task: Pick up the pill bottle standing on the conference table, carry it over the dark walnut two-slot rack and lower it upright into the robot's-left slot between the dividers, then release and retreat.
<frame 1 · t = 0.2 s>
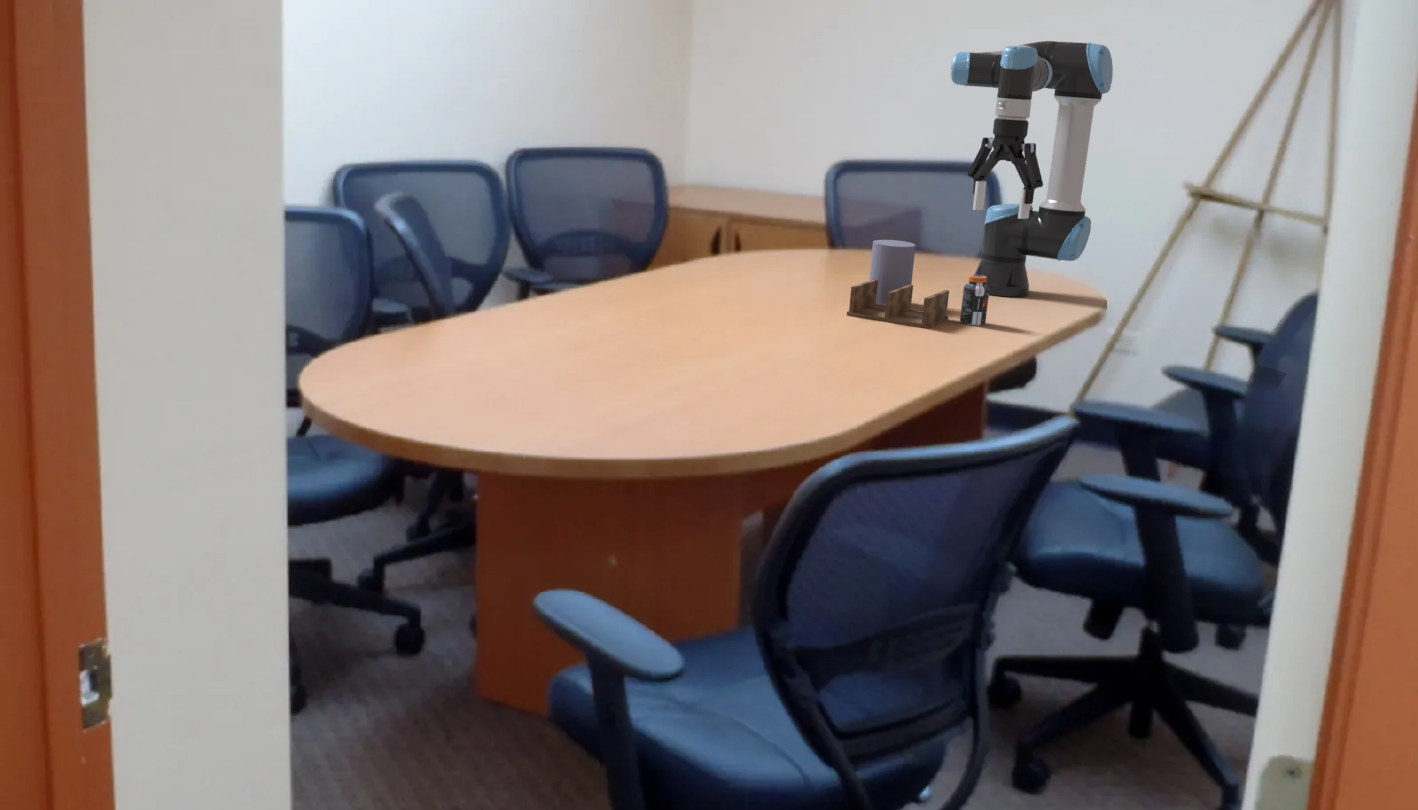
hand: (1000, 214, 305), 26 cm above the table, fingers open, 13 cm apart
rack: (897, 317, 318), on the table
container: (888, 304, 334), on the table
pill bottle: (972, 324, 317), on the table
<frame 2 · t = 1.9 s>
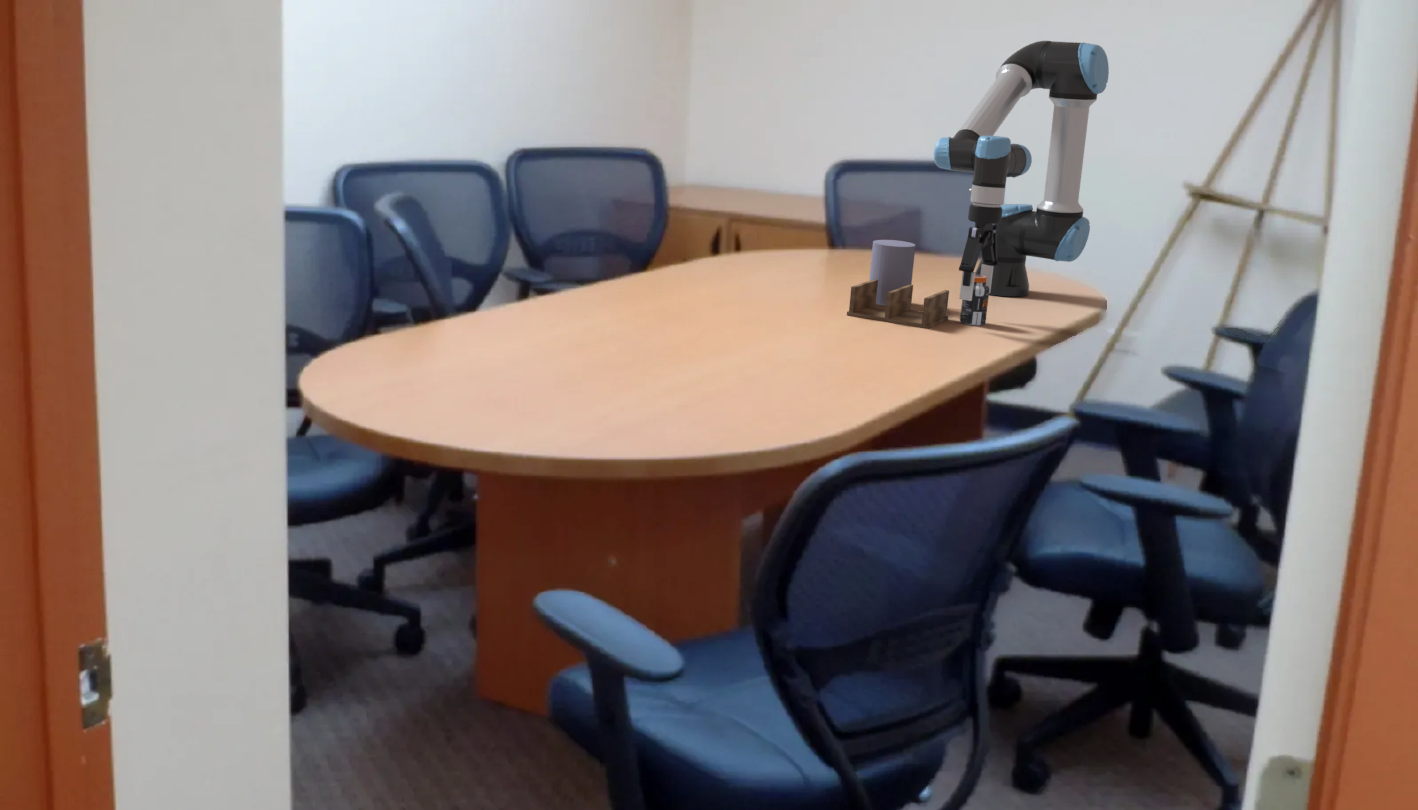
hand: (975, 296, 315), 6 cm above the table, fingers open, 13 cm apart
nothing on the table moved.
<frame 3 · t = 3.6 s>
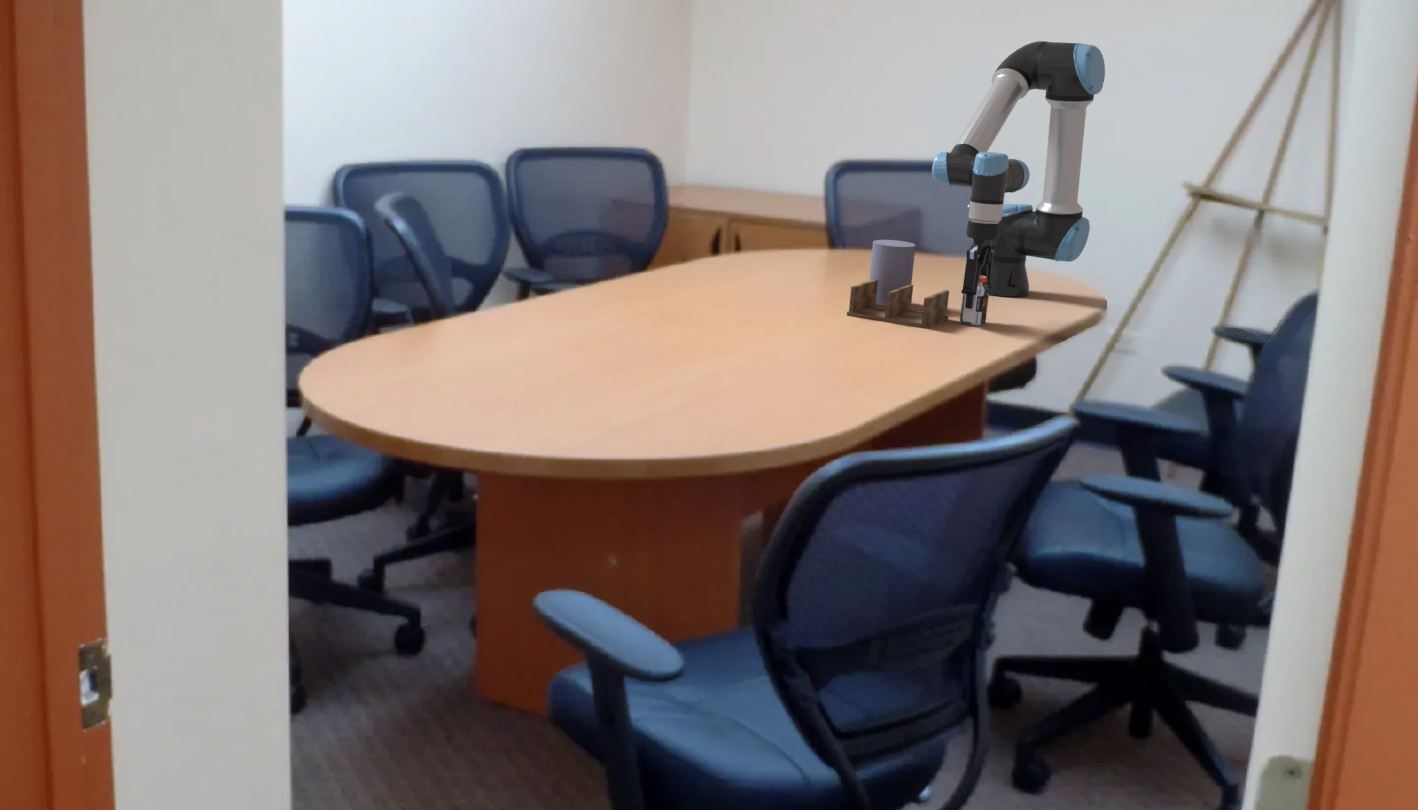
hand: (972, 319, 316), 1 cm above the table, fingers closed on pill bottle, 6 cm apart
pill bottle: (972, 324, 317), on the table, touching gripper
everything else where it was.
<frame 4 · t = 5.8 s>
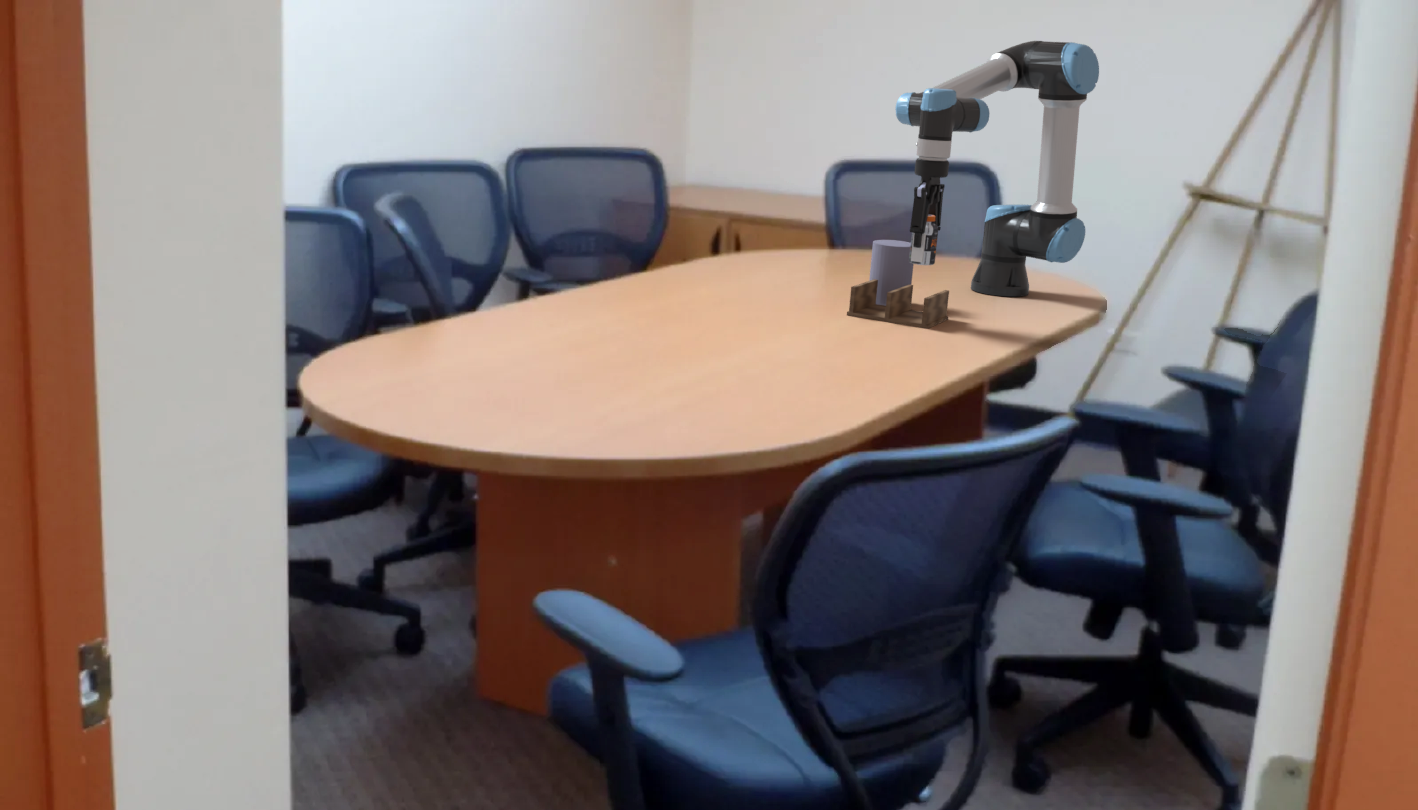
hand: (922, 259, 312), 14 cm above the table, fingers closed on pill bottle, 6 cm apart
pill bottle: (921, 264, 312), point 13 cm above the table, touching gripper
everything else where it was.
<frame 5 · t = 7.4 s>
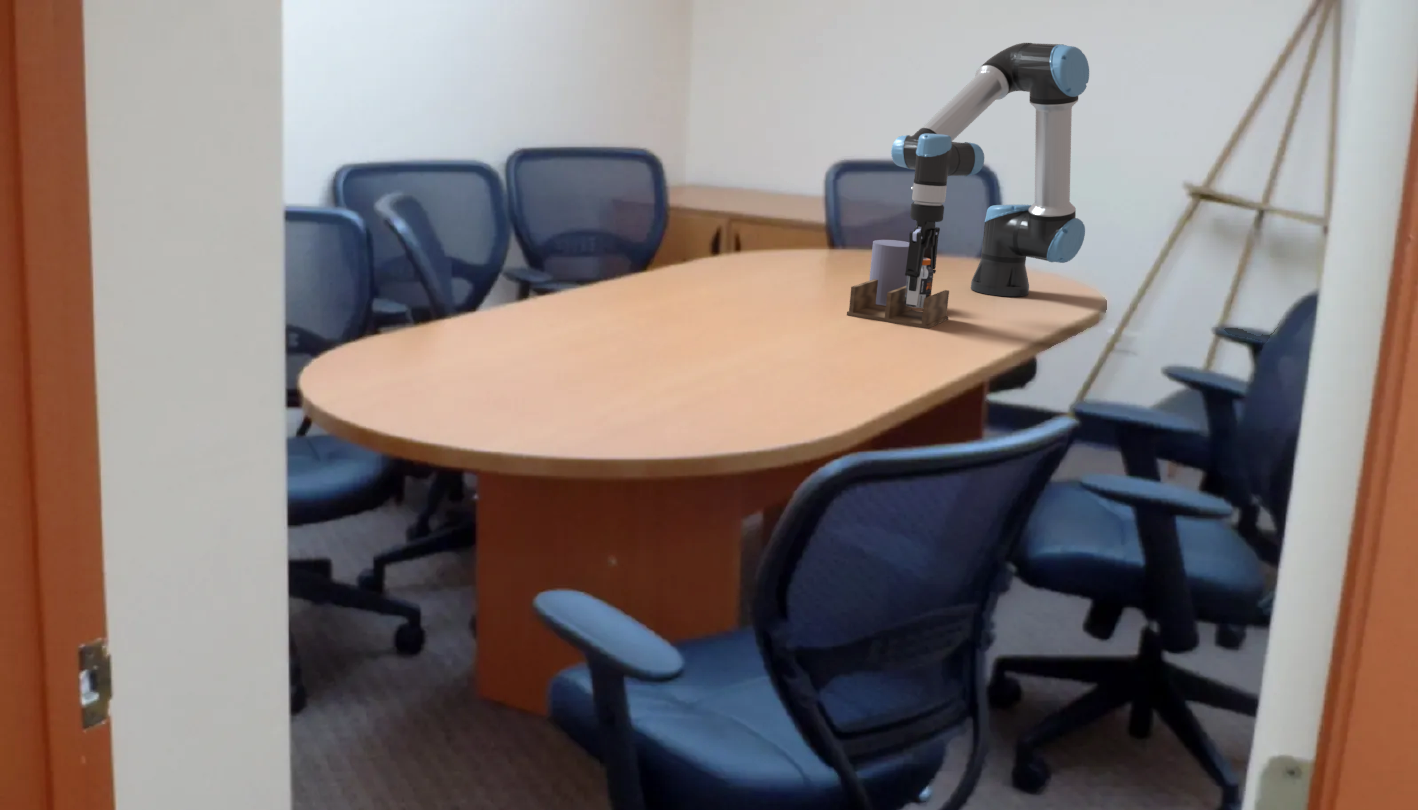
hand: (917, 302, 315), 4 cm above the table, fingers closed on pill bottle, 6 cm apart
pill bottle: (916, 306, 315), point 3 cm above the table, touching gripper
everything else where it was.
when the fingers open (3 cm above the table, at t = 8.5 s): pill bottle drops 1 cm, resting on rack.
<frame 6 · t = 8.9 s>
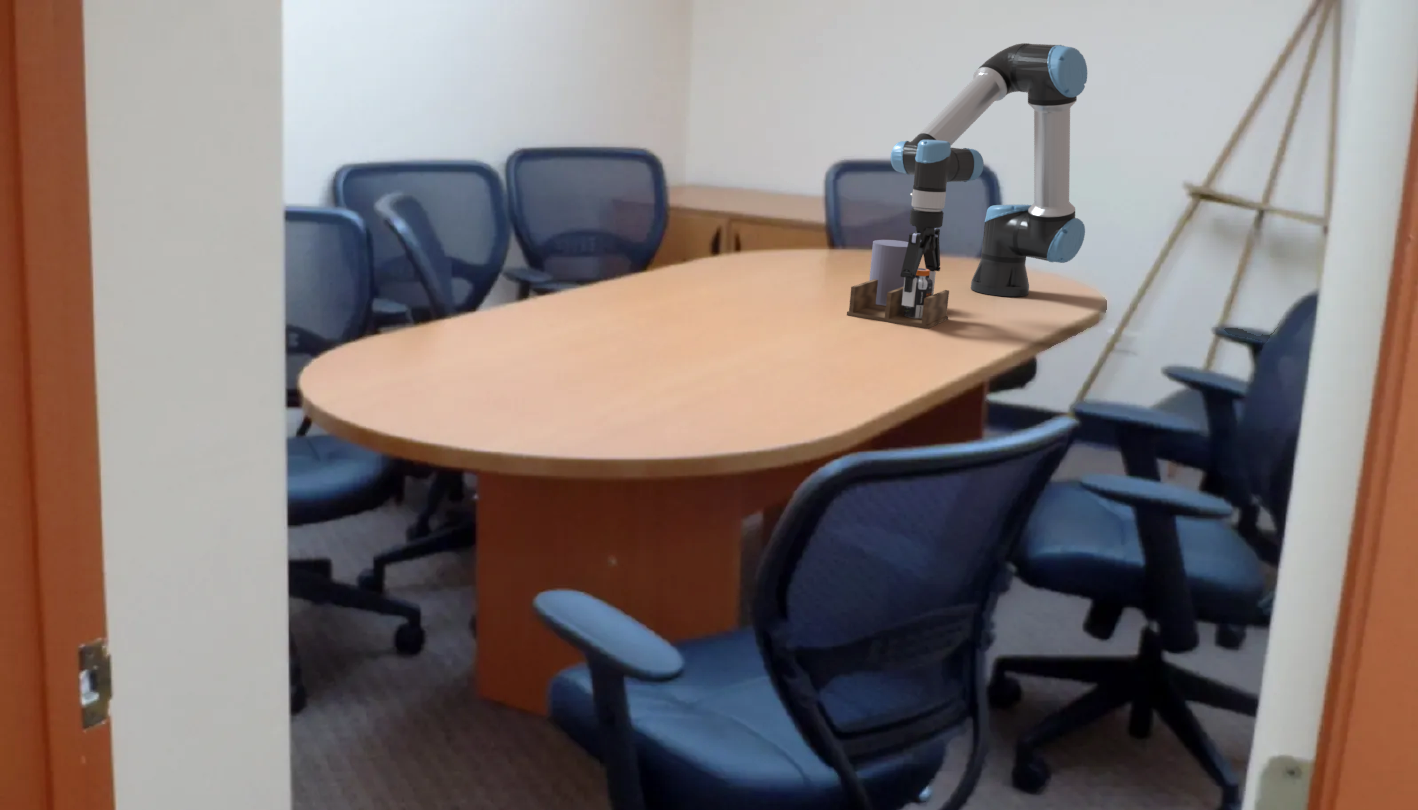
hand: (917, 302, 315), 4 cm above the table, fingers open, 12 cm apart
pill bottle: (916, 317, 316), point 1 cm above the table, touching rack
everything else where it was.
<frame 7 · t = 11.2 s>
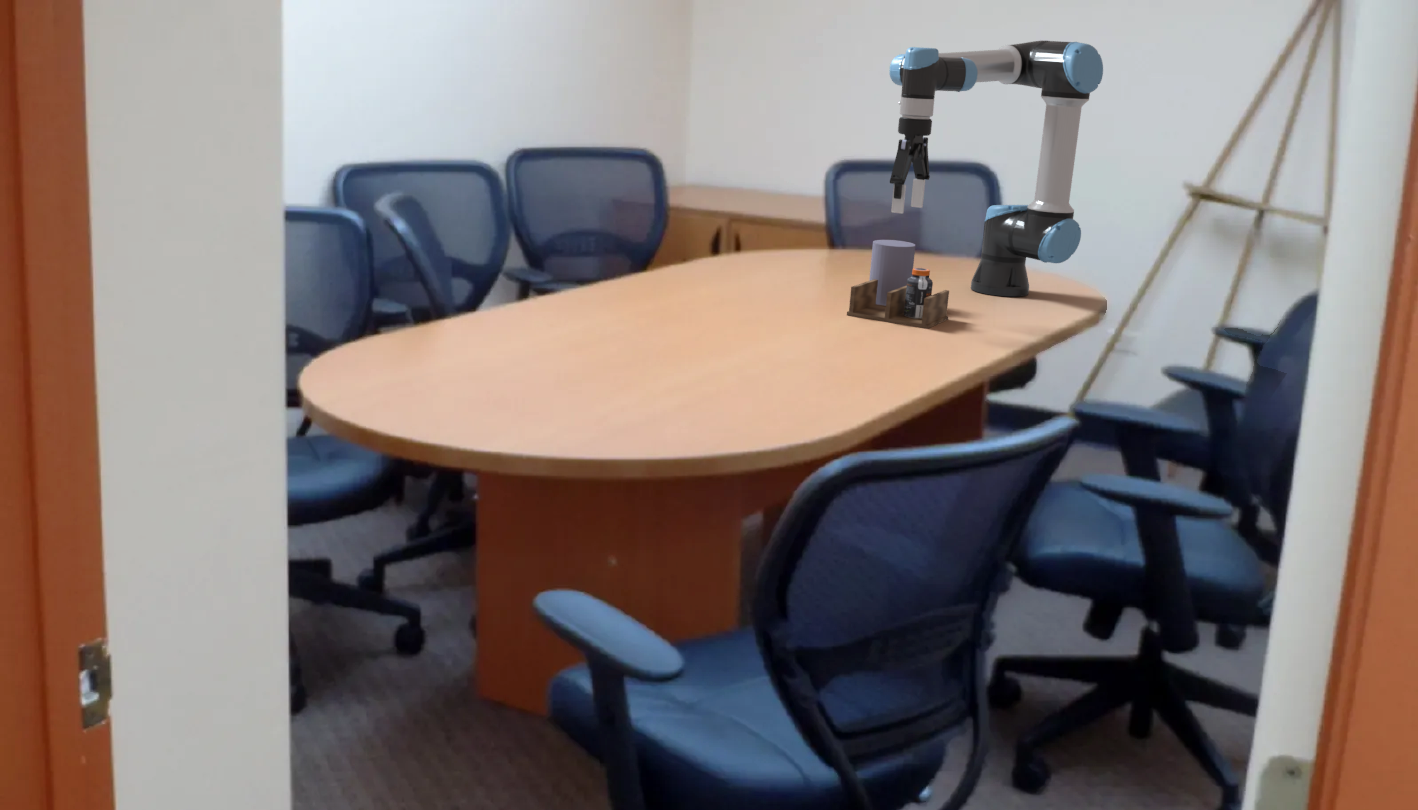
hand: (907, 210, 315), 25 cm above the table, fingers open, 13 cm apart
nothing on the table moved.
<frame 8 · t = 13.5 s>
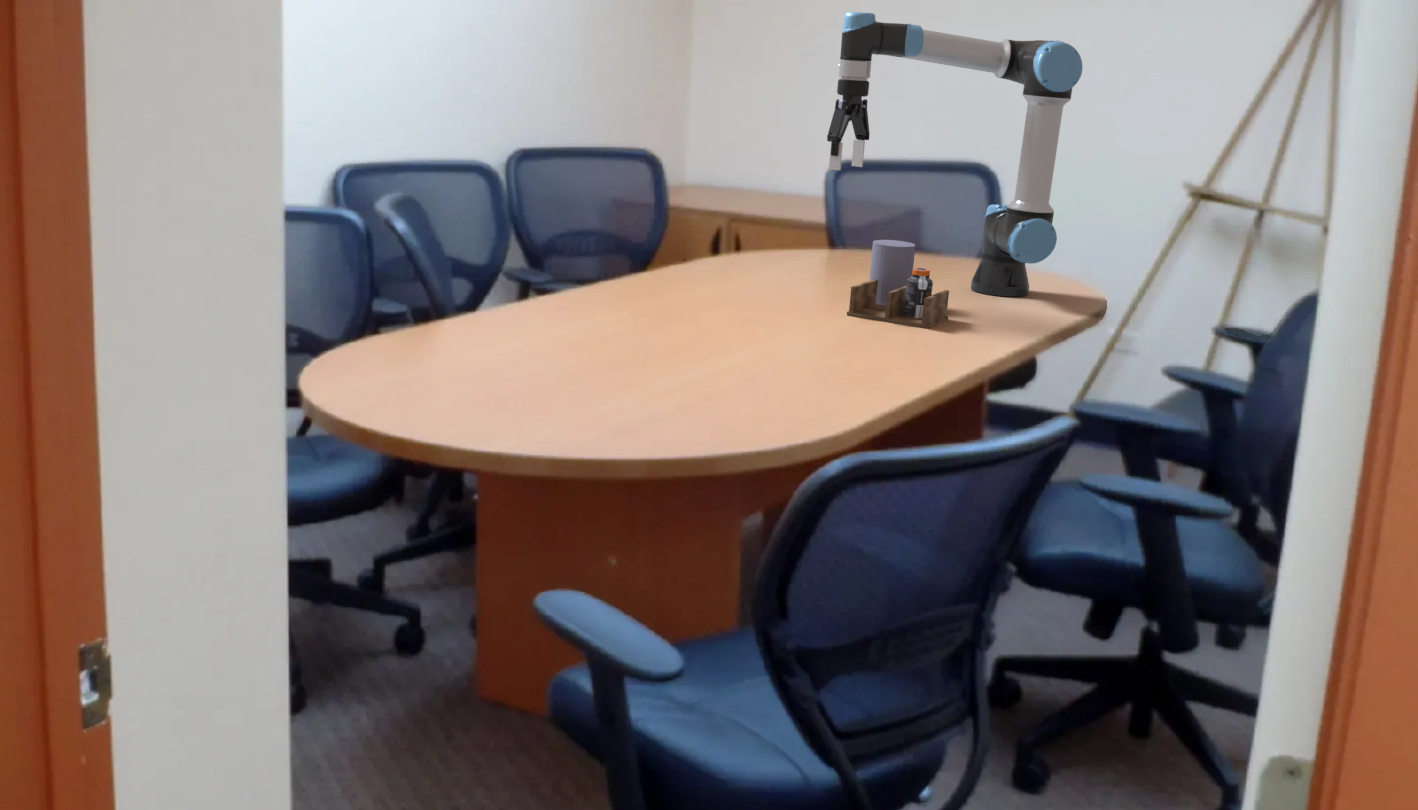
hand: (846, 168, 331), 32 cm above the table, fingers open, 13 cm apart
nothing on the table moved.
at the end: pill bottle inside the target area on the rack (0.1 cm from its centre), point 0.6 cm above the rack's base; pill bottle tilted 0°; the gripper is holding nothing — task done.
